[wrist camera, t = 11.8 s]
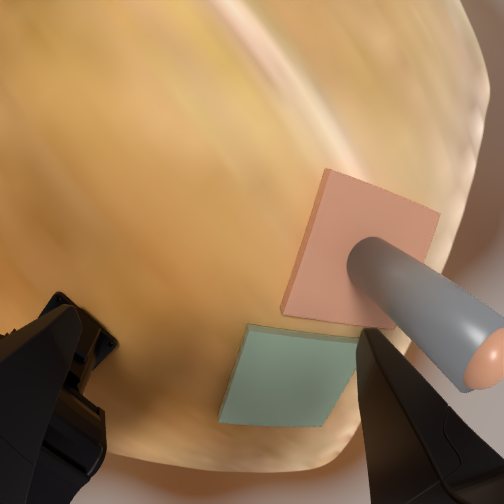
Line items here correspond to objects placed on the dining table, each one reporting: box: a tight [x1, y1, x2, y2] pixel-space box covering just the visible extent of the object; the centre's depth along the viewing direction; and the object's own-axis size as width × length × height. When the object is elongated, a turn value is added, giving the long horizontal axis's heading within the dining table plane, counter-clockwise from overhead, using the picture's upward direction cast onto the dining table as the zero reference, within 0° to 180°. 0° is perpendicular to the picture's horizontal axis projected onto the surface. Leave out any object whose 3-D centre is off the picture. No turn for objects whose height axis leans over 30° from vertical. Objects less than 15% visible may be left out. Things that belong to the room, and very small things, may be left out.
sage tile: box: [218, 324, 359, 427], centre depth 26 cm, size 11×11×1 cm
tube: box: [347, 237, 504, 393], centre depth 16 cm, size 4×4×14 cm
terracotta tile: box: [280, 168, 440, 329], centre depth 23 cm, size 11×11×1 cm
